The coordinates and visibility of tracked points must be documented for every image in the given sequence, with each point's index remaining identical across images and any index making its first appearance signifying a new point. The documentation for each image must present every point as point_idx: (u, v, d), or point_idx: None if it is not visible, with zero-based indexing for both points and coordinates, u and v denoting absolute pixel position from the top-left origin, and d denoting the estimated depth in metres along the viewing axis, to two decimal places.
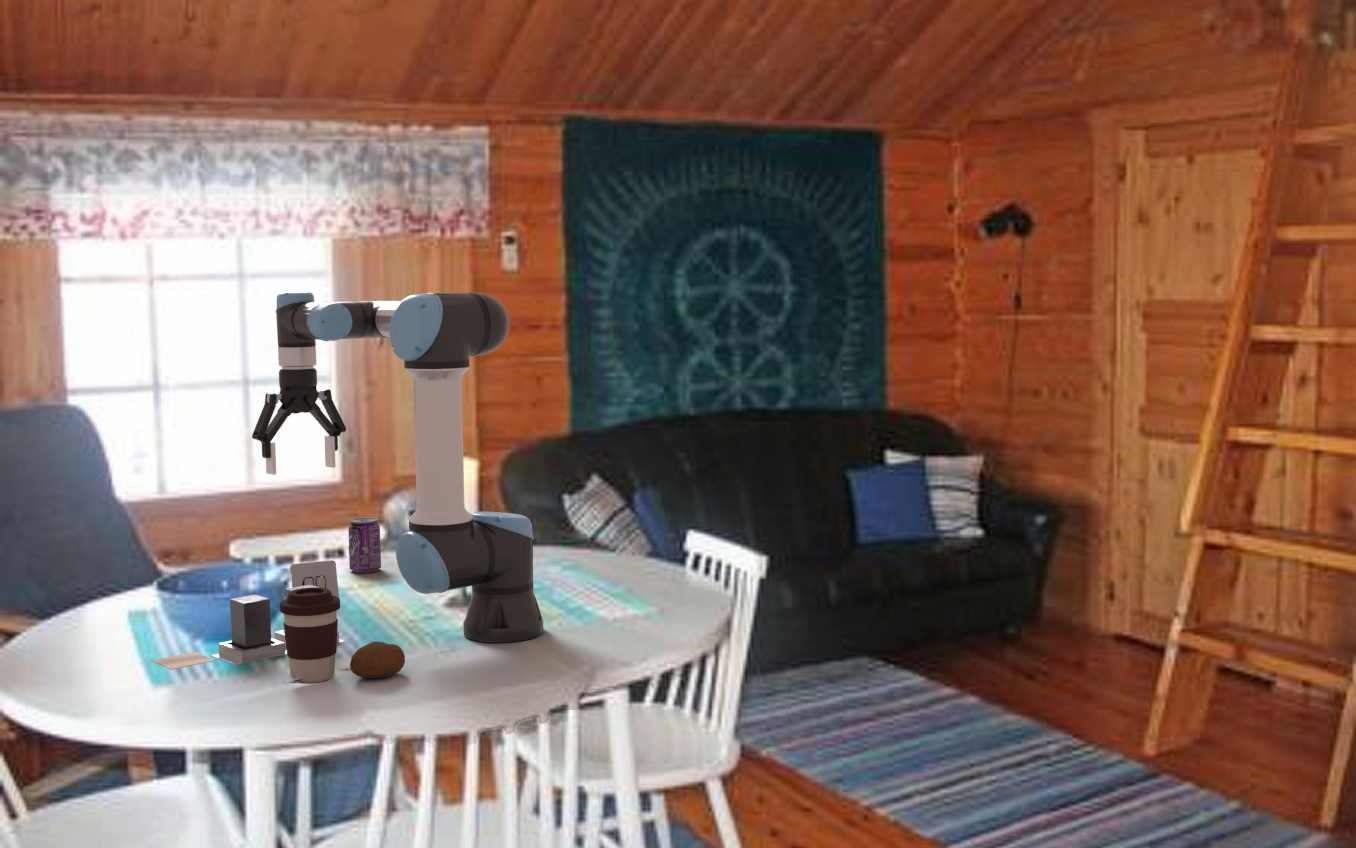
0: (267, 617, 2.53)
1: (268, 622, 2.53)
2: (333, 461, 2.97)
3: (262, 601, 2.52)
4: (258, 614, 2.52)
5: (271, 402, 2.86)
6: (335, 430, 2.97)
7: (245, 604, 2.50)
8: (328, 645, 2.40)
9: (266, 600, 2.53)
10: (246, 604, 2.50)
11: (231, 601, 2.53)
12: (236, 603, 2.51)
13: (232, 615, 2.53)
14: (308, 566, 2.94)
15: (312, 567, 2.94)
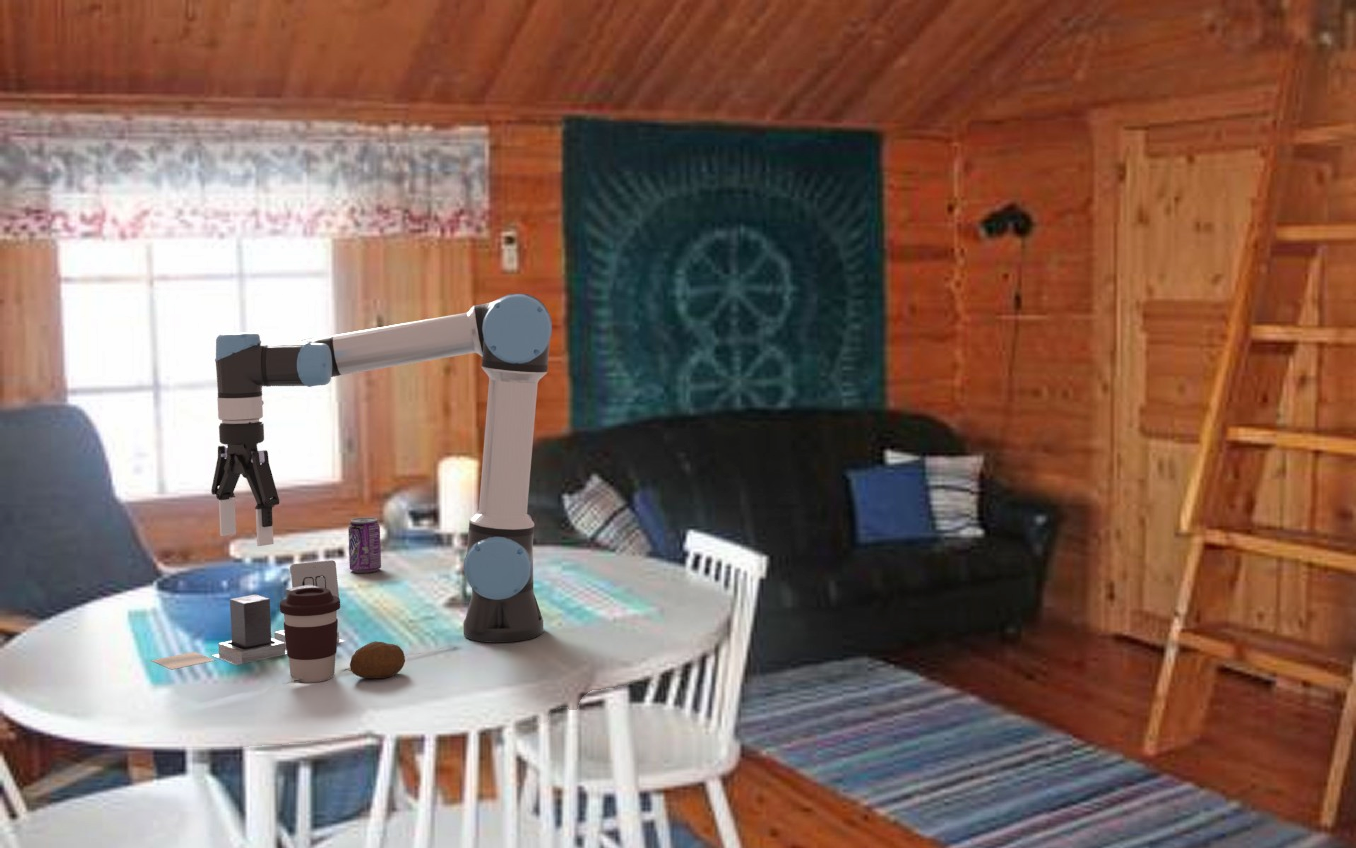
0: (267, 617, 2.53)
1: (268, 622, 2.53)
2: (257, 538, 2.47)
3: (262, 601, 2.52)
4: (258, 614, 2.52)
5: None
6: (259, 502, 2.45)
7: (245, 604, 2.50)
8: (328, 645, 2.40)
9: (266, 600, 2.53)
10: (246, 604, 2.50)
11: (231, 601, 2.53)
12: (236, 603, 2.51)
13: (232, 615, 2.53)
14: (308, 566, 2.94)
15: (312, 567, 2.94)
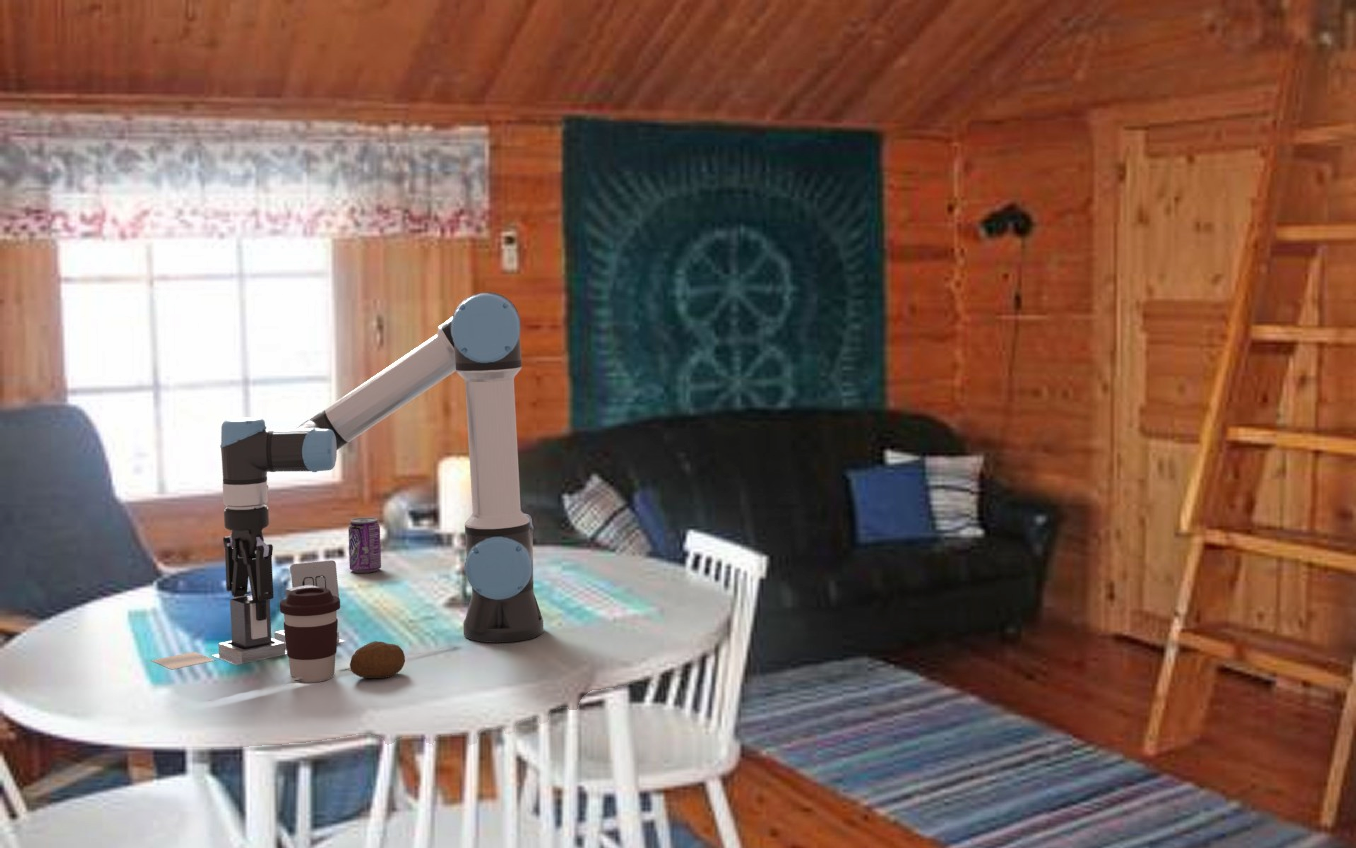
0: (267, 617, 2.53)
1: (268, 622, 2.53)
2: (251, 631, 2.51)
3: None
4: None
5: None
6: (254, 596, 2.49)
7: (245, 604, 2.50)
8: (328, 645, 2.40)
9: None
10: (246, 604, 2.50)
11: (231, 601, 2.53)
12: (236, 603, 2.51)
13: (232, 615, 2.53)
14: (308, 566, 2.94)
15: (312, 567, 2.94)
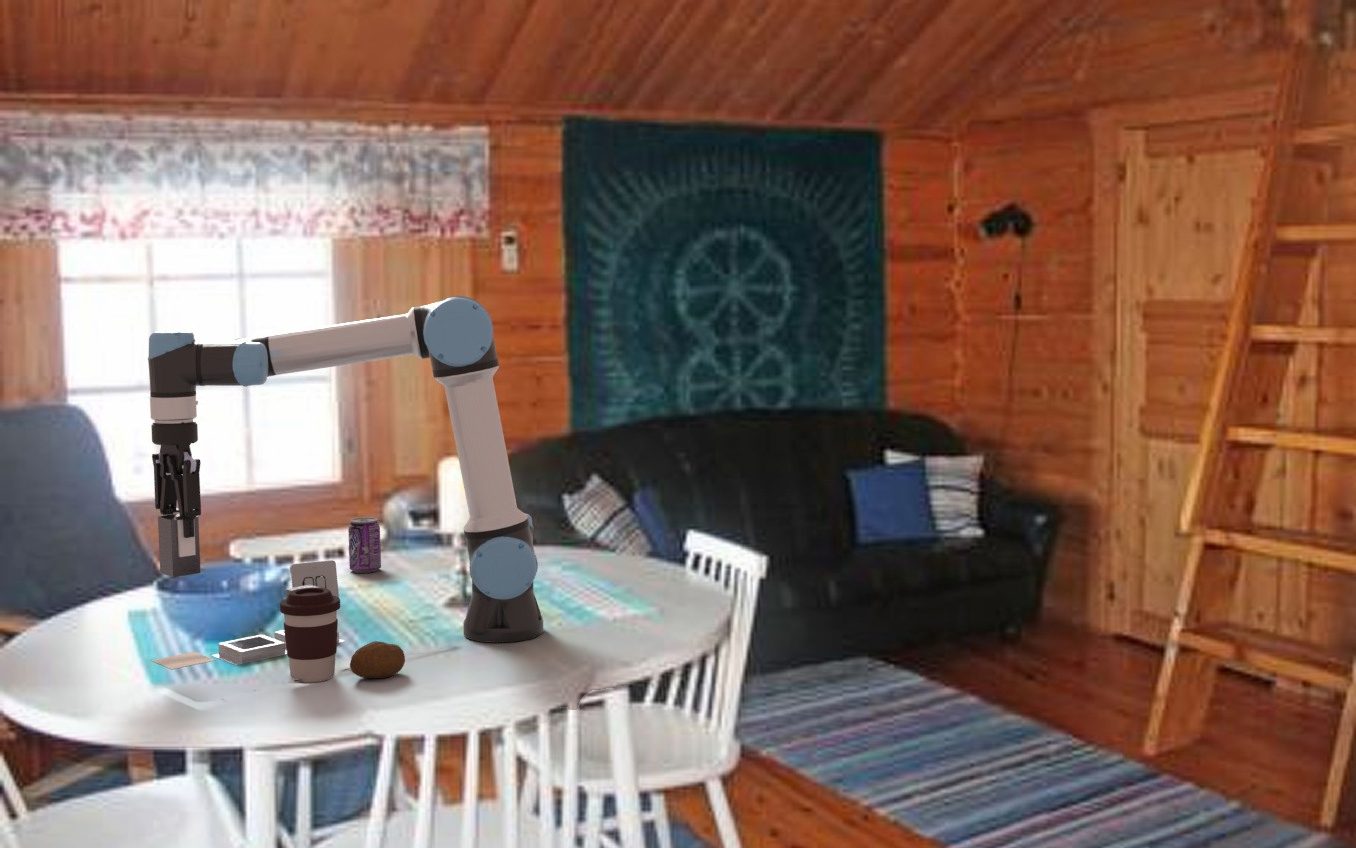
0: (195, 535, 2.48)
1: (196, 540, 2.48)
2: (179, 549, 2.45)
3: None
4: None
5: (153, 464, 2.50)
6: (181, 513, 2.44)
7: (172, 520, 2.44)
8: (328, 645, 2.40)
9: None
10: (173, 520, 2.45)
11: (159, 518, 2.47)
12: (164, 520, 2.46)
13: (160, 533, 2.48)
14: (308, 566, 2.94)
15: (312, 567, 2.94)
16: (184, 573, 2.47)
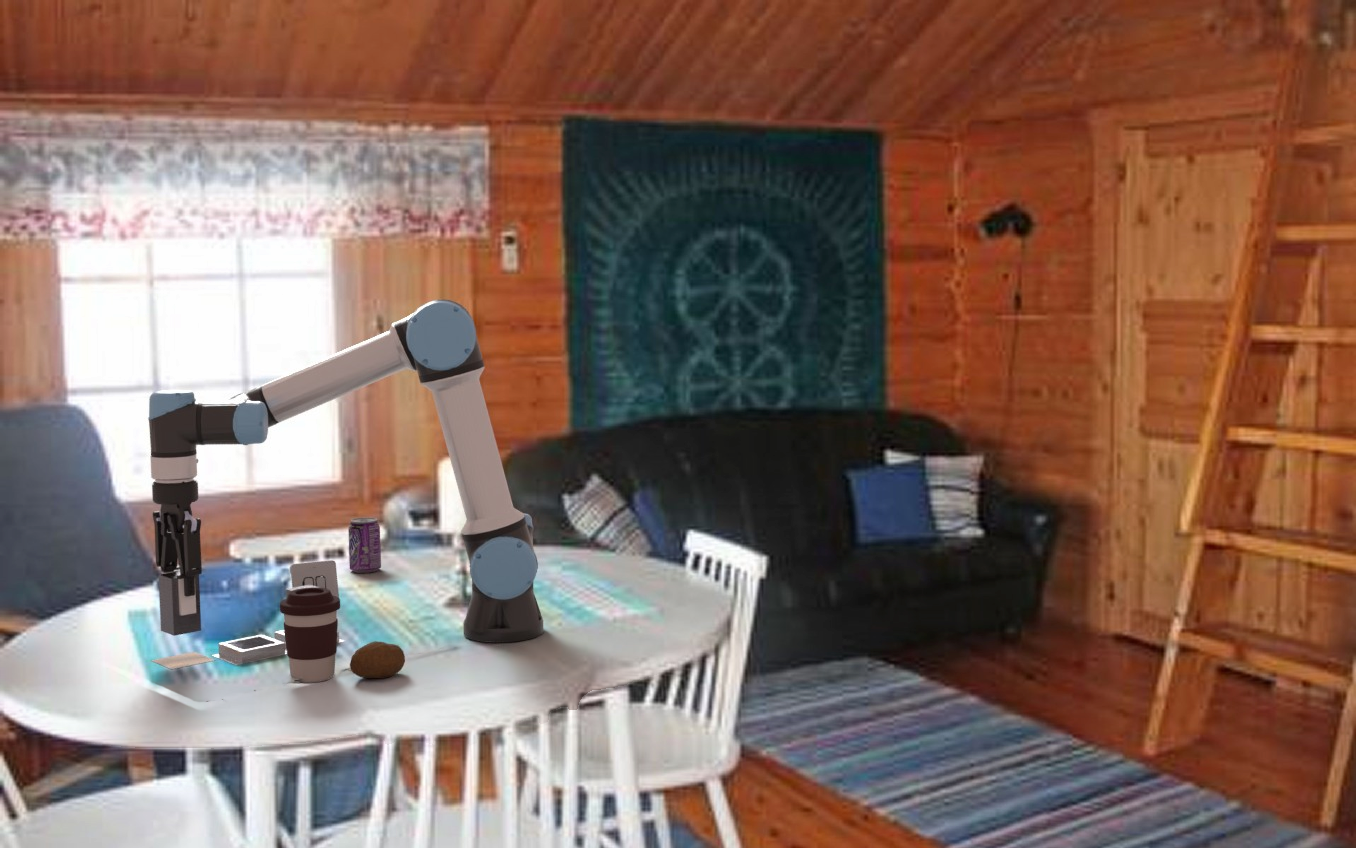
0: (196, 593, 2.49)
1: (197, 598, 2.49)
2: (180, 607, 2.46)
3: None
4: None
5: (154, 522, 2.51)
6: (182, 572, 2.45)
7: (173, 579, 2.45)
8: (328, 645, 2.40)
9: None
10: (174, 579, 2.46)
11: (159, 576, 2.48)
12: (164, 579, 2.47)
13: (160, 591, 2.49)
14: (308, 566, 2.94)
15: (312, 567, 2.94)
16: (185, 631, 2.48)
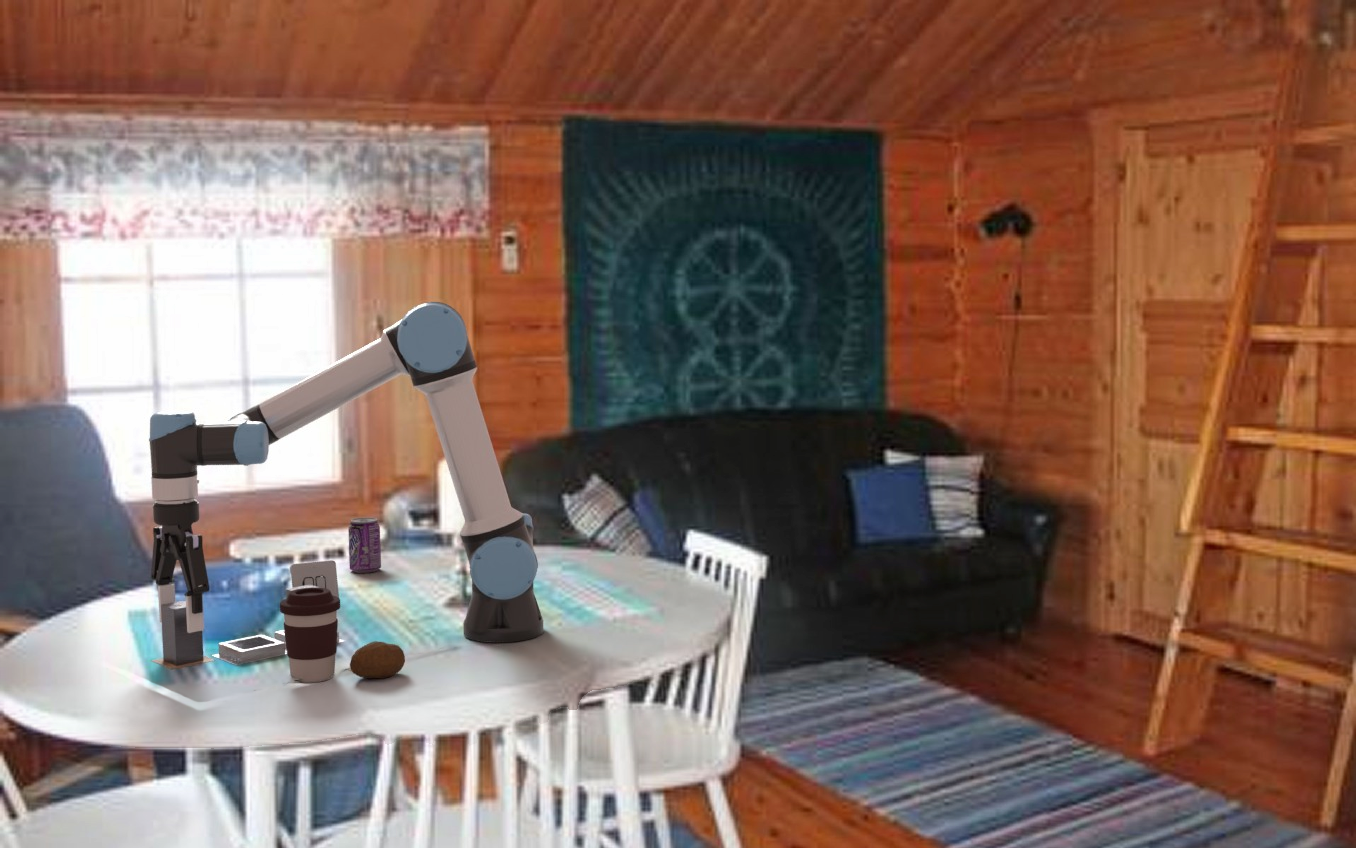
0: None
1: None
2: (187, 625, 2.45)
3: None
4: None
5: None
6: (189, 589, 2.44)
7: (175, 610, 2.46)
8: (328, 645, 2.40)
9: None
10: (176, 610, 2.46)
11: (162, 607, 2.49)
12: (167, 609, 2.48)
13: (163, 621, 2.49)
14: (308, 566, 2.94)
15: (312, 567, 2.94)
16: (187, 661, 2.48)
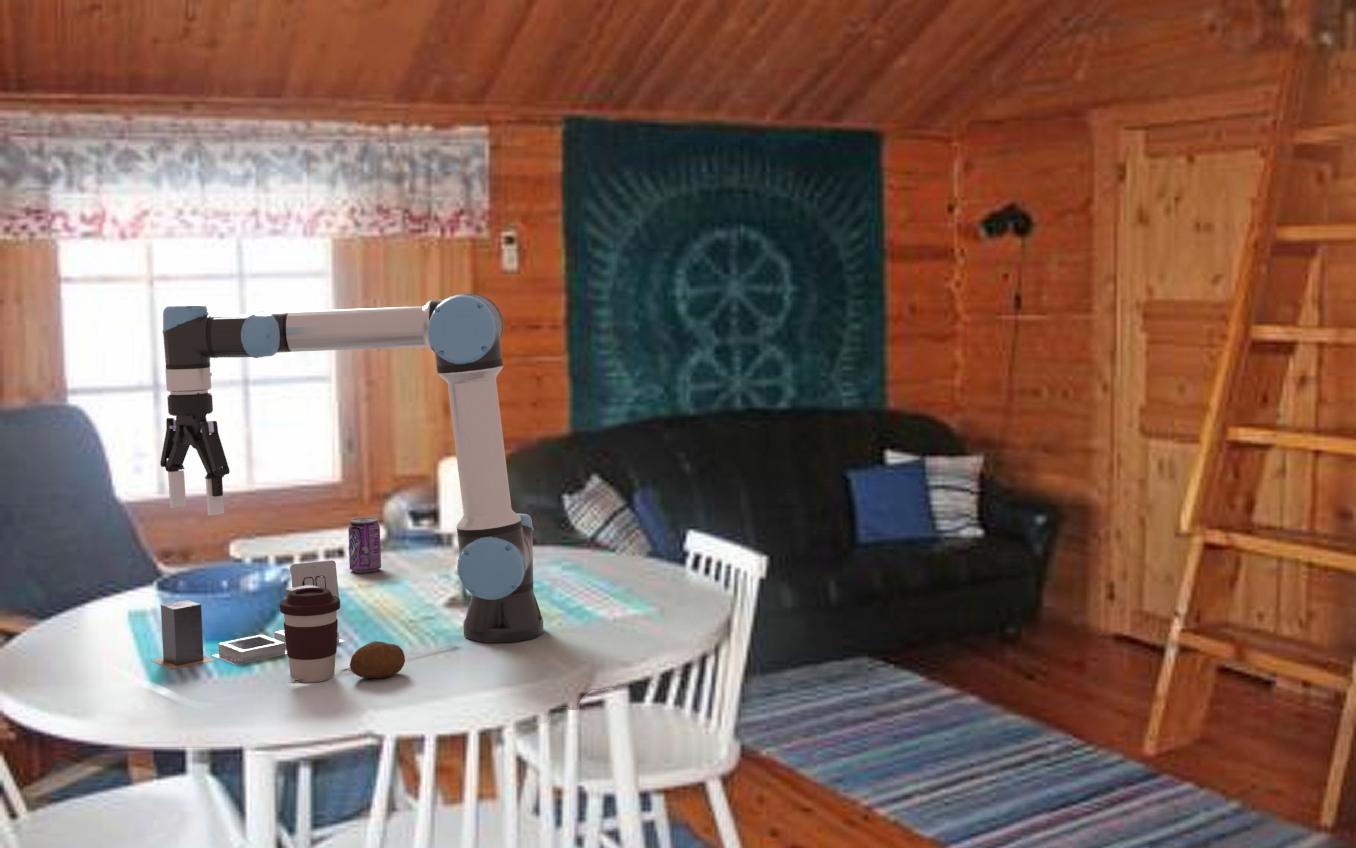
0: (198, 623, 2.49)
1: (199, 628, 2.49)
2: (208, 508, 2.49)
3: (193, 607, 2.48)
4: (189, 619, 2.48)
5: (166, 427, 2.57)
6: (209, 472, 2.48)
7: (175, 610, 2.46)
8: (328, 645, 2.40)
9: (197, 606, 2.49)
10: (176, 610, 2.46)
11: (162, 607, 2.49)
12: (167, 609, 2.48)
13: (163, 621, 2.49)
14: (308, 566, 2.94)
15: (312, 567, 2.94)
16: (187, 661, 2.48)
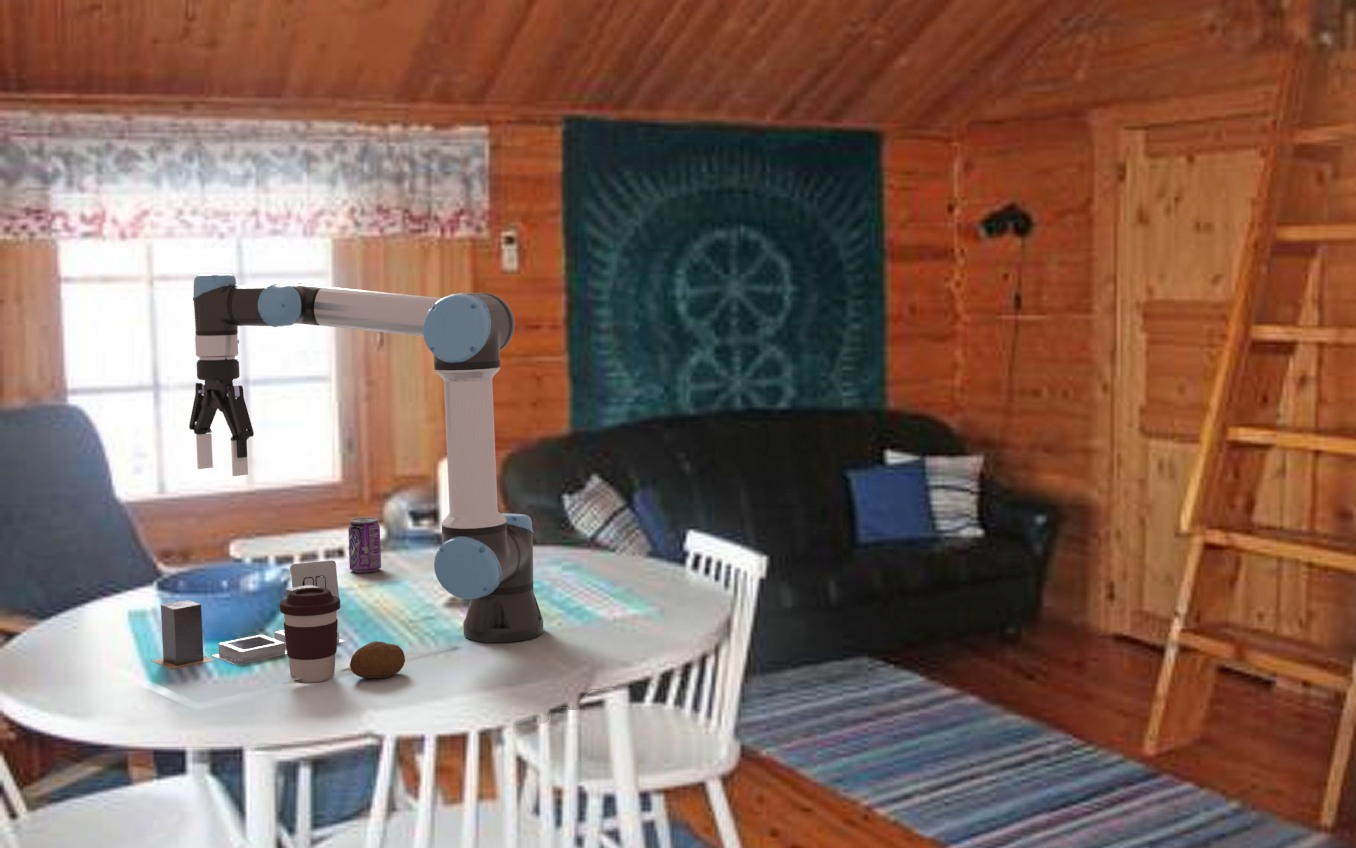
0: (198, 623, 2.49)
1: (199, 628, 2.49)
2: (233, 468, 2.60)
3: (193, 607, 2.48)
4: (189, 619, 2.48)
5: (195, 391, 2.68)
6: (234, 434, 2.59)
7: (175, 610, 2.46)
8: (328, 645, 2.40)
9: (197, 606, 2.49)
10: (176, 610, 2.46)
11: (162, 607, 2.49)
12: (167, 609, 2.48)
13: (163, 621, 2.49)
14: (308, 566, 2.94)
15: (312, 567, 2.94)
16: (187, 661, 2.48)
